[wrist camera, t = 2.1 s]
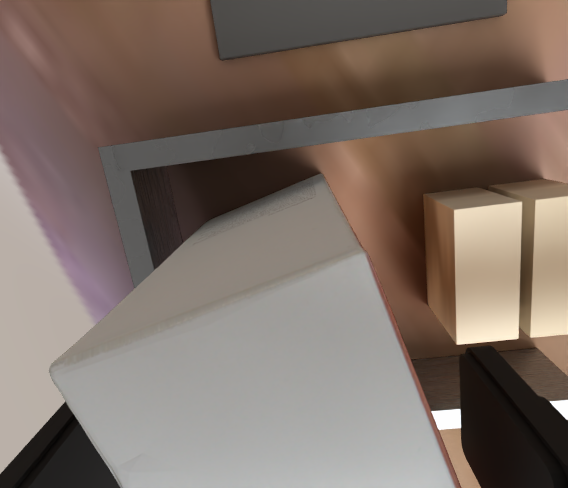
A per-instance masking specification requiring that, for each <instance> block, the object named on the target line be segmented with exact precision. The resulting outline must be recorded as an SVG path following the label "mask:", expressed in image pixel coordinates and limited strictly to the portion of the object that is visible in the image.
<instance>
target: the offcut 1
mask: <svg viewBox="0 0 568 488" xmlns="http://www.w3.org/2000/svg"><path fill="white" fill-rule="evenodd" d="M423 198H424V223H425V247H426V272H427V297H428V306H429V307H430V309H431V310H432V312H433V313H434V314H435V316H436V317H437V318H438V320H439V321H440V323H441V324H442V325H443V327H444V328H445V329H446V331H447V332H448V334H449V335H450V336H451V338H452V339H453V340H454V342H455V343H456V345H460V344H471V343H481V342H491V341H502V340H512V339H518V335H519V299H520V263H521V227H522V201H519V200H516V199H513V198H510V197H506V196H503V195H500V194H497V193H494V192H491V191H488V190H484V189H481V188H478V187H475V188H467V189H459V190H452V191H444V192H436V193H428V194H423Z"/></svg>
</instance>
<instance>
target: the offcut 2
mask: <svg viewBox="0 0 568 488" xmlns="http://www.w3.org/2000/svg"><path fill="white" fill-rule="evenodd" d="M488 191H491V192H494V193H497V194H500V195H503V196H506V197H510V198H513V199H516V200H519V201H522V227H521V263H520V299H519V328H520V329H521V330H522V331H523V332H525V333H526V334H527V335H528V336H529V337H530V338H533V337H544V336H554V335H565V334H568V184H567V183H562V182H557V181H552V180H547V179H538V180H530V181H522V182H514V183H507V184H499V185H491V186H488Z"/></svg>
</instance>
